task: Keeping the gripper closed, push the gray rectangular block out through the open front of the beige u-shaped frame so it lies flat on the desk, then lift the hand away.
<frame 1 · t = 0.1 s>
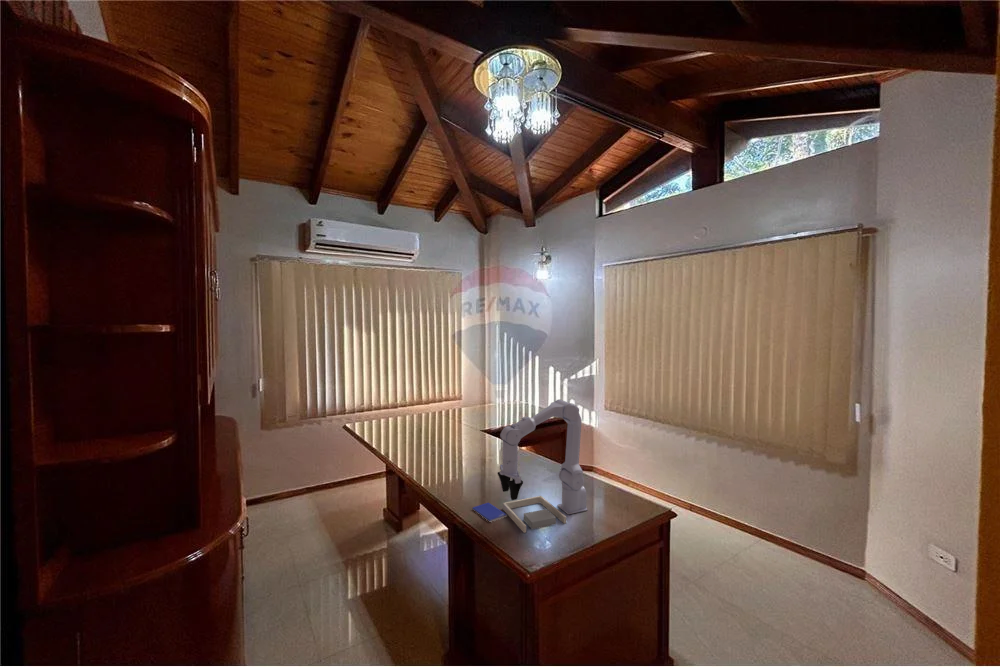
hand: (509, 495, 142), 10 cm above the table, tool pointing down, fingers open, 7 cm apart
beige u-shaped frame: (533, 516, 146), on the table
gray rectangular block: (539, 523, 142), on the table
hard drive: (489, 515, 148), on the table
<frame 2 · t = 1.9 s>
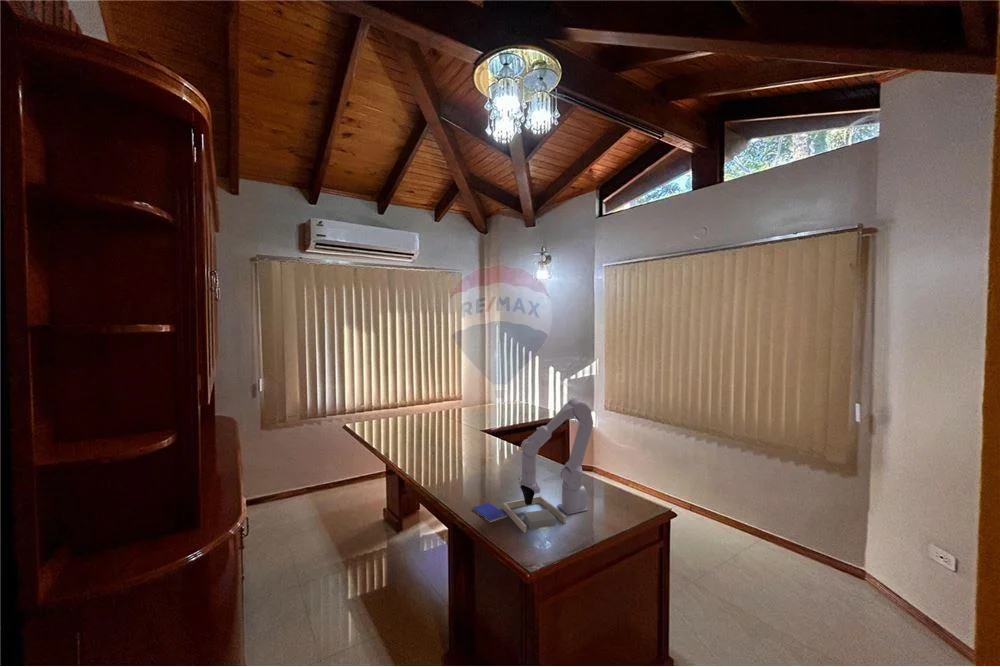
hand: (528, 504, 150), 3 cm above the table, tool pointing down, fingers closed
nothing on the table moved.
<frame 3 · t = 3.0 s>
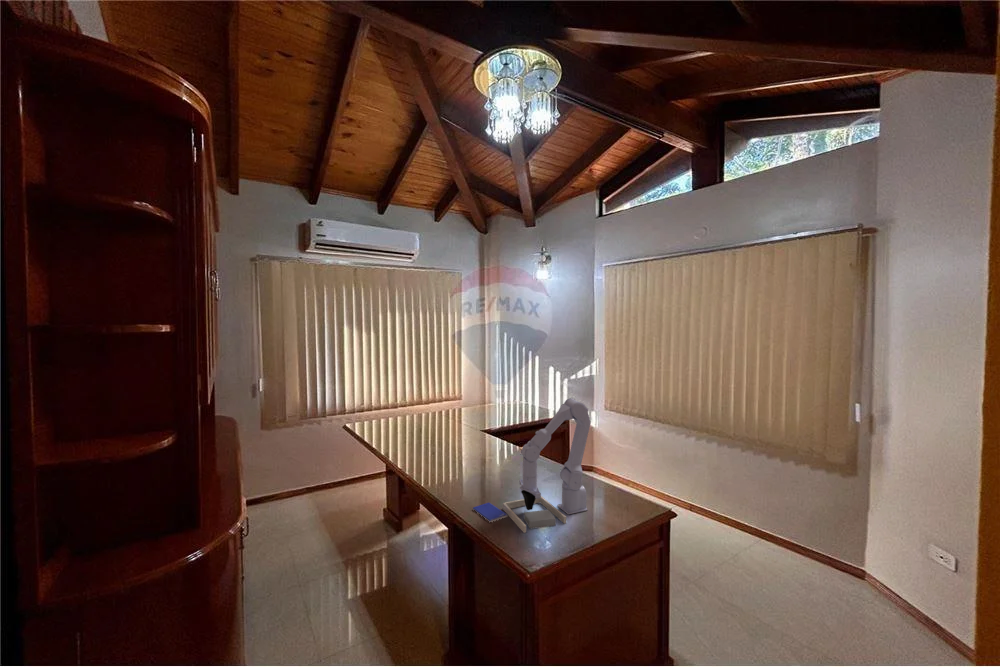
hand: (529, 509, 149), 1 cm above the table, tool pointing down, fingers closed
nothing on the table moved.
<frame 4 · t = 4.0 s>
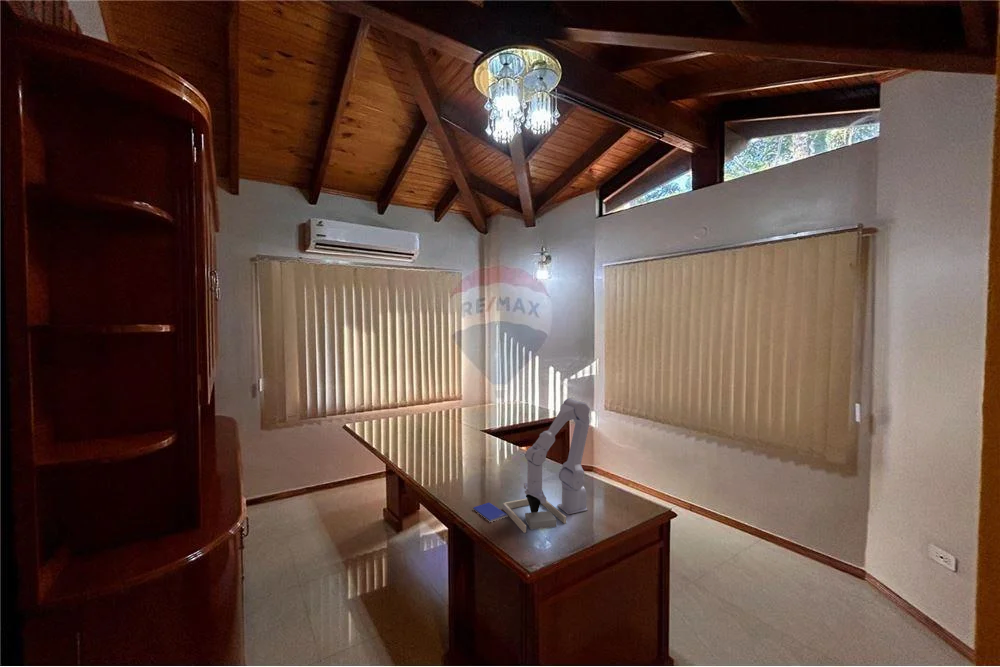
hand: (534, 513, 145), 1 cm above the table, tool pointing down, fingers closed
nothing on the table moved.
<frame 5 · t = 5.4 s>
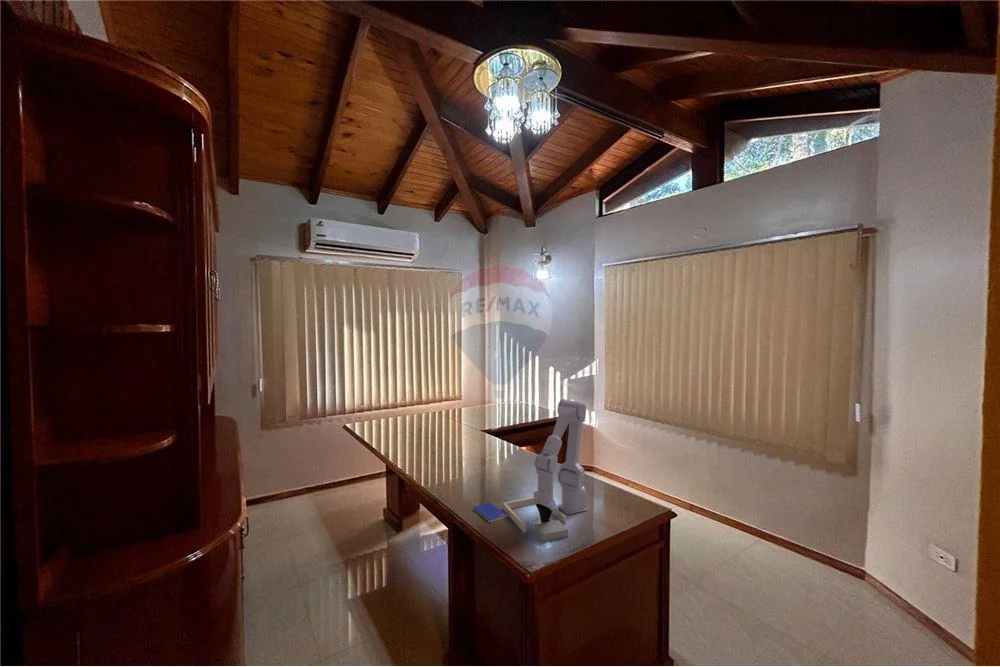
hand: (544, 524, 138), 1 cm above the table, tool pointing down, fingers closed
gray rectangular block: (550, 535, 134), on the table, touching gripper
everything else where it was.
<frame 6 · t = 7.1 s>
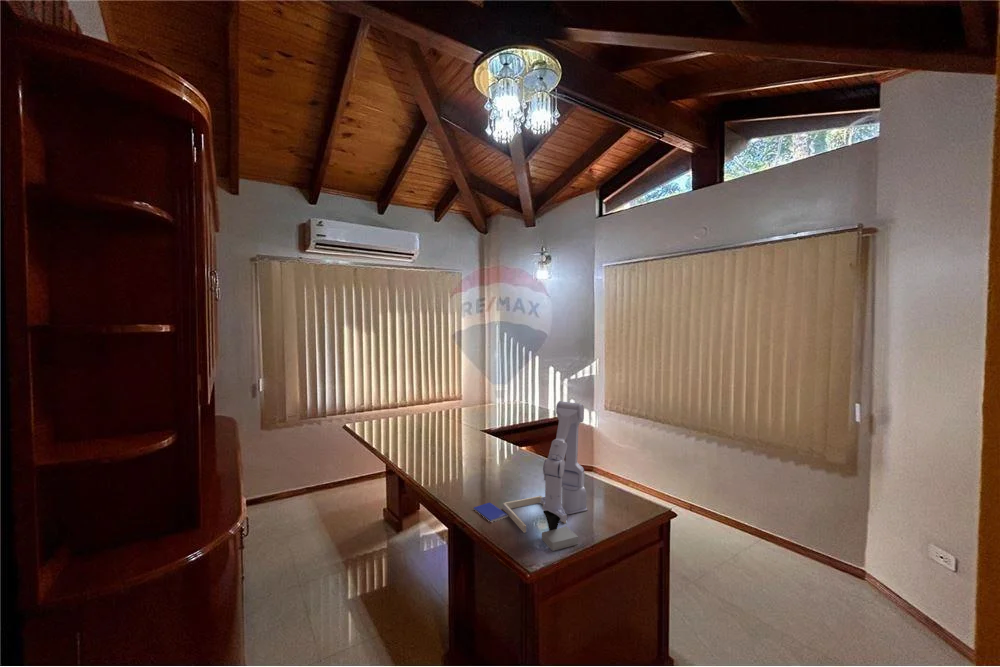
hand: (552, 531, 133), 1 cm above the table, tool pointing down, fingers closed
gray rectangular block: (559, 543, 129), on the table
everything else where it was.
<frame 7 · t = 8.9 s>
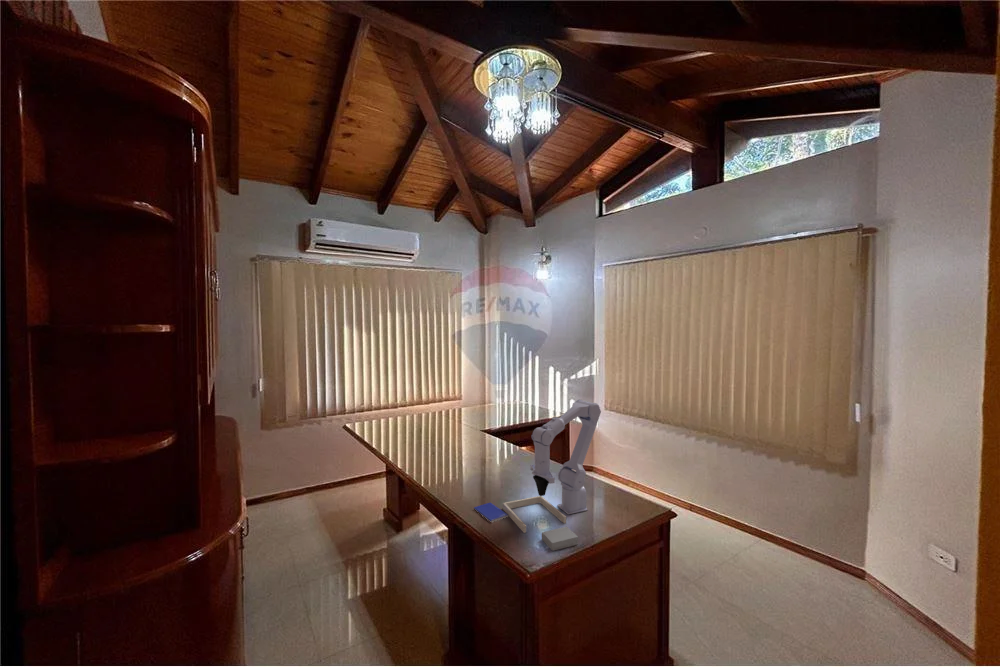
hand: (541, 495, 144), 9 cm above the table, tool pointing down, fingers closed
nothing on the table moved.
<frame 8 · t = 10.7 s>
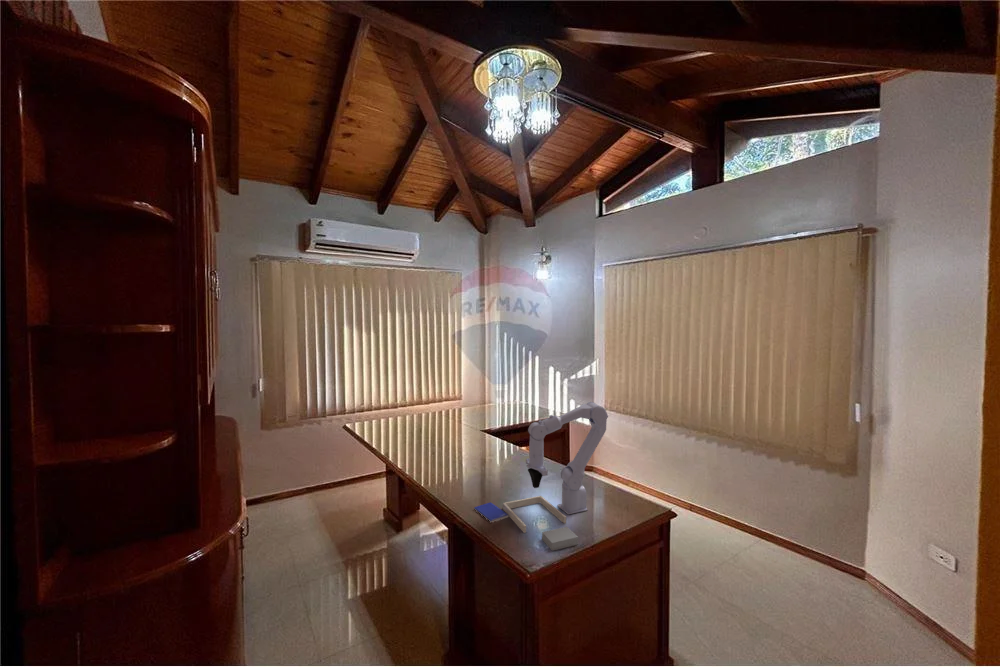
hand: (535, 487, 151), 9 cm above the table, tool pointing down, fingers closed
nothing on the table moved.
at the end: gray rectangular block inside the target area (0.9 cm from its centre), on the table; gray rectangular block tilted 0°; gray rectangular block touching table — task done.
